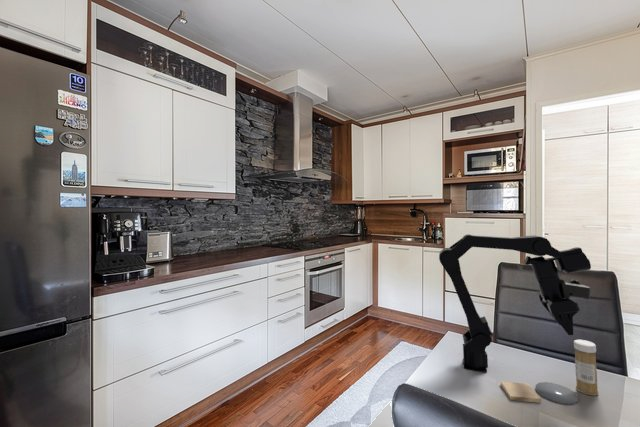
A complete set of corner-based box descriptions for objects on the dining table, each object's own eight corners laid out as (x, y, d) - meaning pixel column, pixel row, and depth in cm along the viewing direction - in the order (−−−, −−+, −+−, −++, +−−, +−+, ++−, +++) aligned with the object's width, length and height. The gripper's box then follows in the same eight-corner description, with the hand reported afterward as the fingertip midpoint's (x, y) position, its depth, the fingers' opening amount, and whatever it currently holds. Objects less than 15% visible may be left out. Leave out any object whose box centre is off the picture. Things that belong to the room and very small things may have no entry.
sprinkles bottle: (600, 392, 79) (598, 342, 79) (595, 398, 77) (592, 347, 77) (578, 384, 83) (576, 337, 83) (573, 390, 80) (570, 341, 81)
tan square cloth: (510, 399, 77) (510, 396, 77) (500, 384, 84) (500, 381, 84) (540, 402, 76) (540, 398, 76) (528, 387, 83) (527, 383, 83)
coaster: (541, 400, 77) (541, 397, 77) (531, 381, 85) (531, 379, 85) (584, 407, 73) (584, 405, 73) (570, 387, 82) (570, 385, 82)
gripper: (592, 276, 75) (616, 338, 73) (571, 268, 92) (589, 318, 89) (541, 283, 80) (562, 341, 78) (529, 274, 97) (546, 322, 94)
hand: (566, 329), depth 85 cm, fingers open, 9 cm apart
